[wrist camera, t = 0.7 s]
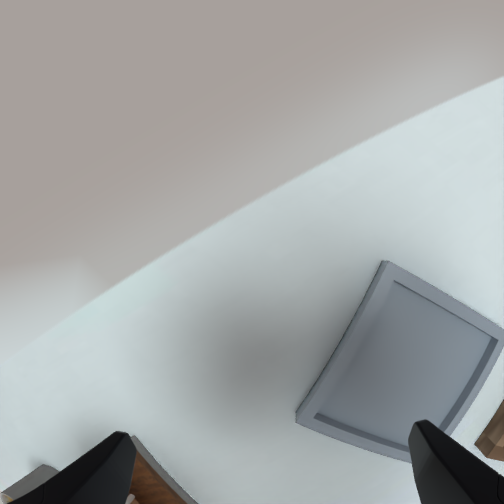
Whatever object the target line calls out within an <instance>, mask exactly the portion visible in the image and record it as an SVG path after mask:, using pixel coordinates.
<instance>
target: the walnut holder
mask: <svg viewBox="0 0 504 504" xmlns="http://www.w3.org/2000/svg"><path fill="white" fill-rule="evenodd" d="M475 445H476V446H477V448H478V449H479V450H480V451H481V452H482V453H483V454H484V456H485V457H486V458H490V459H494V460H499V461H504V400H503V402H502V403H501V405H500V407H499V408H498V410H497V412H496V413H495V415H494V416H493V418H492V419H491V421H490V422H489V424H488V425H487V427H486V428H485V430H484V431H483V433H482V434H481V435H480V437H479V438H478V440H477V441H476V442H475Z"/></svg>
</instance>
